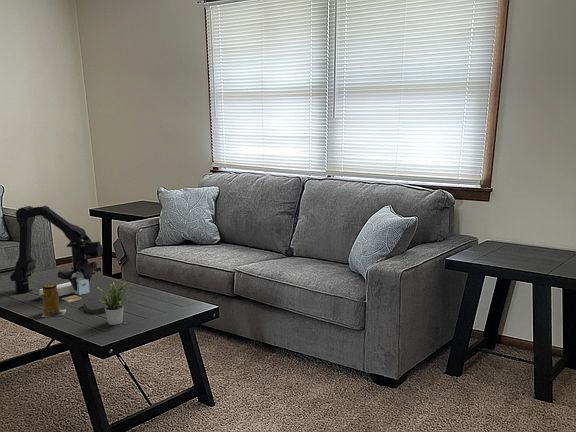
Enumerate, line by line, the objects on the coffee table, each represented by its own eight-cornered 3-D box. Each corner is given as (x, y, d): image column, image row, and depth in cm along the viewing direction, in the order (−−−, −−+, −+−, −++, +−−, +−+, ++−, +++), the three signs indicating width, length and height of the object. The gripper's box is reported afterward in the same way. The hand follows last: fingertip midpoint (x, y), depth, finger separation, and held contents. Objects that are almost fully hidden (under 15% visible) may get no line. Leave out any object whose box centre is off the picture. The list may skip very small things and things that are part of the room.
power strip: (26, 300, 239) (26, 292, 239) (79, 286, 258) (78, 279, 258) (36, 304, 234) (35, 296, 233) (89, 290, 253) (88, 282, 253)
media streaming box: (89, 316, 220) (88, 309, 220) (82, 306, 233) (81, 299, 232) (125, 309, 228) (125, 302, 227) (117, 300, 240) (116, 293, 240)
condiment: (44, 311, 225) (42, 283, 223) (66, 309, 227) (64, 282, 225) (41, 317, 218) (38, 288, 216) (63, 315, 220) (61, 287, 218)
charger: (71, 291, 251) (70, 279, 250) (81, 289, 255) (80, 276, 254) (79, 295, 246) (78, 282, 245) (89, 292, 250) (88, 279, 249)
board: (61, 299, 240) (61, 298, 240) (74, 296, 244) (74, 295, 244) (69, 302, 236) (68, 301, 236) (81, 299, 241) (81, 297, 241)
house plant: (144, 322, 212) (141, 281, 209) (111, 332, 202) (109, 290, 199) (124, 314, 222) (121, 275, 219) (92, 323, 211) (89, 282, 209)
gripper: (68, 263, 235) (71, 297, 238) (107, 254, 249) (109, 287, 252) (55, 259, 242) (58, 293, 244) (93, 251, 256) (95, 283, 259)
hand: (81, 289), depth 250 cm, fingers closed on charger, 5 cm apart
